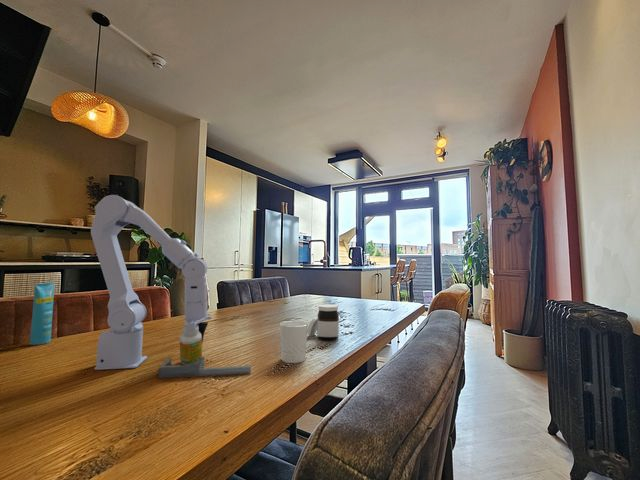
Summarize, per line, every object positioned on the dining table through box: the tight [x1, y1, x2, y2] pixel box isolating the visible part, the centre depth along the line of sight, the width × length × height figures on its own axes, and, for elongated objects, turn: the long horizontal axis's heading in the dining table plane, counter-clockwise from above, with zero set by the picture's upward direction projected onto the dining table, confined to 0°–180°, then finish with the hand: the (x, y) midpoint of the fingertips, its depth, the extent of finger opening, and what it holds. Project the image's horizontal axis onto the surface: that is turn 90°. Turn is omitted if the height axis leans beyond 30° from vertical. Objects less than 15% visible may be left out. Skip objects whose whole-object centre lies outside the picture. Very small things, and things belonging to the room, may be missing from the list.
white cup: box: [279, 320, 309, 364], centre depth 84 cm, size 8×8×10 cm
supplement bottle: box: [179, 324, 203, 365], centre depth 79 cm, size 5×5×10 cm
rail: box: [157, 356, 252, 379], centre depth 74 cm, size 21×6×2 cm, turn 101°
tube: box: [29, 281, 55, 346], centre depth 95 cm, size 7×5×19 cm, turn 13°
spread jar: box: [307, 303, 340, 342], centre depth 107 cm, size 12×11×12 cm
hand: (196, 350), depth 83 cm, fingers closed, pressing on supplement bottle
